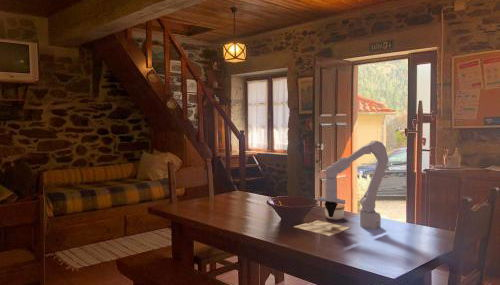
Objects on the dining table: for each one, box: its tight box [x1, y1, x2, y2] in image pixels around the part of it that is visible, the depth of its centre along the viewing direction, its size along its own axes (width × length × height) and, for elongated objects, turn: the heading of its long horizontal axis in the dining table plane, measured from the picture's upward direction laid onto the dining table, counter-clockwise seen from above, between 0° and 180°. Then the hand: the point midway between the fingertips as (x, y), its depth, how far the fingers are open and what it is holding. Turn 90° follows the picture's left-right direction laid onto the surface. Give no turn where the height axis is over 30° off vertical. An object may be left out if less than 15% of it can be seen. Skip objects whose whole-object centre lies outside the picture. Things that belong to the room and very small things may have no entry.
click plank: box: [307, 220, 351, 232], centre depth 198 cm, size 20×8×1 cm, turn 42°
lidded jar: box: [324, 204, 345, 220], centre depth 214 cm, size 11×11×9 cm
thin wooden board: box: [293, 222, 342, 237], centre depth 191 cm, size 22×10×1 cm, turn 42°
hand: (331, 216), depth 199 cm, fingers closed
